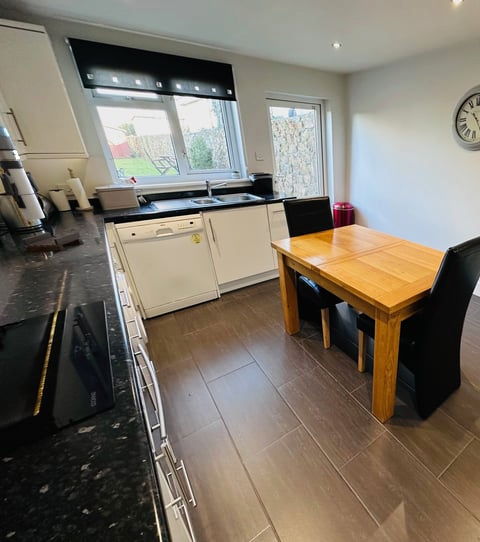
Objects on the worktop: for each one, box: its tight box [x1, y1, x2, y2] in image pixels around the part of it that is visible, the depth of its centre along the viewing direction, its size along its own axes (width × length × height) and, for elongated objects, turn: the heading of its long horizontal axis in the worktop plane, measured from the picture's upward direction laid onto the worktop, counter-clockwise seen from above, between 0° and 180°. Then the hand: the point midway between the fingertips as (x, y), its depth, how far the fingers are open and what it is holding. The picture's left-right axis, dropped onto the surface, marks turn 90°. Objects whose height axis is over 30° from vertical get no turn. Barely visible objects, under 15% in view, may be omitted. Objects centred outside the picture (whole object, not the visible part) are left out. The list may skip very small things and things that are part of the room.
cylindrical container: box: [1, 167, 46, 221], centre depth 145 cm, size 7×7×25 cm
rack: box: [21, 231, 84, 253], centre depth 151 cm, size 16×14×7 cm
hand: (30, 206), depth 148 cm, fingers closed on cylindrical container, 7 cm apart
